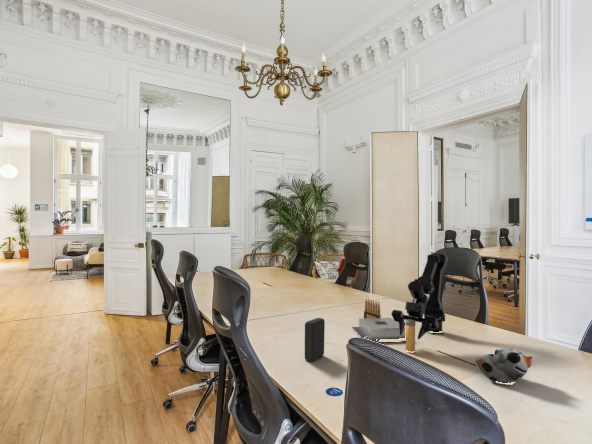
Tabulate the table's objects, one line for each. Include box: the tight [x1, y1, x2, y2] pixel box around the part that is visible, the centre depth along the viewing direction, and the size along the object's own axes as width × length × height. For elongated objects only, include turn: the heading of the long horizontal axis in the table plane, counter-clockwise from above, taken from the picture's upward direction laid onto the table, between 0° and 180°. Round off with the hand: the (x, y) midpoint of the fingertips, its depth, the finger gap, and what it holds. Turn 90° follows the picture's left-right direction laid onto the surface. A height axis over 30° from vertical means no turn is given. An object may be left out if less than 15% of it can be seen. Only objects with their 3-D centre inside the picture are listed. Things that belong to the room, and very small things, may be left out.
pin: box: [405, 319, 416, 352], centre depth 141 cm, size 4×4×13 cm
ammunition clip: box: [363, 298, 382, 318], centre depth 182 cm, size 11×2×12 cm, turn 35°
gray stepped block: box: [351, 317, 406, 344], centre depth 162 cm, size 22×22×6 cm
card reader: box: [304, 317, 326, 362], centre depth 133 cm, size 9×4×15 cm, turn 141°
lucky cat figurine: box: [474, 347, 533, 383], centre depth 116 cm, size 15×12×14 cm
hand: (409, 336), depth 140 cm, fingers open, 7 cm apart
